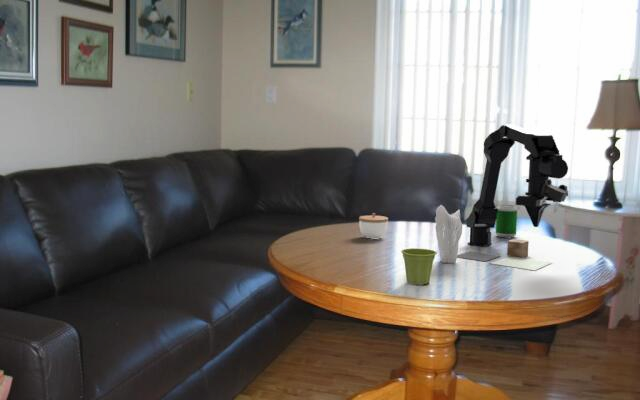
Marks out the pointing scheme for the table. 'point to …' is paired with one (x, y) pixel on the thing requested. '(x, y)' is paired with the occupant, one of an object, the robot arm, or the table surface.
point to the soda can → (506, 221)
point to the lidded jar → (373, 225)
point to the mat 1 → (477, 256)
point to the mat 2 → (521, 263)
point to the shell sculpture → (448, 234)
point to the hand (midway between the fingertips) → (535, 226)
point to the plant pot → (418, 265)
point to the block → (517, 248)
